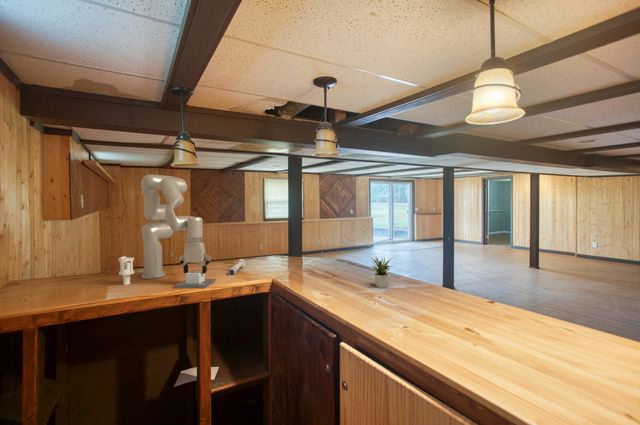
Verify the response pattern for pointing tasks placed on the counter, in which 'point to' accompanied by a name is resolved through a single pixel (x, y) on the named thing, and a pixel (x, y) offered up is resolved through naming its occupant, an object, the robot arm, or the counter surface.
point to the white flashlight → (237, 267)
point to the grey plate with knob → (200, 285)
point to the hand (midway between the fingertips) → (195, 273)
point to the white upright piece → (126, 268)
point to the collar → (195, 277)
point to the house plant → (381, 272)
